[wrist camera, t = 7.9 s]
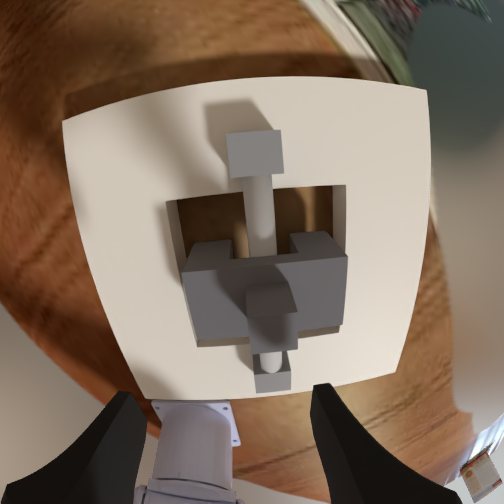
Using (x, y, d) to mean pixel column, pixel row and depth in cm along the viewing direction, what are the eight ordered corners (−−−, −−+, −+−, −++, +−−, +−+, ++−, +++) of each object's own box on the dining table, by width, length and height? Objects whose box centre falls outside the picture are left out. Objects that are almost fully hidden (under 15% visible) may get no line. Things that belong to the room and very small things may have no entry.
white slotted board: (384, 354, 23) (403, 387, 18) (151, 378, 23) (140, 416, 18) (405, 94, 14) (445, 87, 10) (82, 122, 14) (42, 120, 10)
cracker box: (460, 471, 60) (474, 503, 41) (459, 470, 58) (473, 504, 39) (486, 452, 57) (502, 483, 37) (486, 450, 55) (503, 483, 36)
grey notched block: (324, 288, 18) (357, 355, 12) (205, 300, 18) (190, 372, 12) (325, 230, 16) (368, 280, 10) (194, 242, 16) (168, 301, 10)
